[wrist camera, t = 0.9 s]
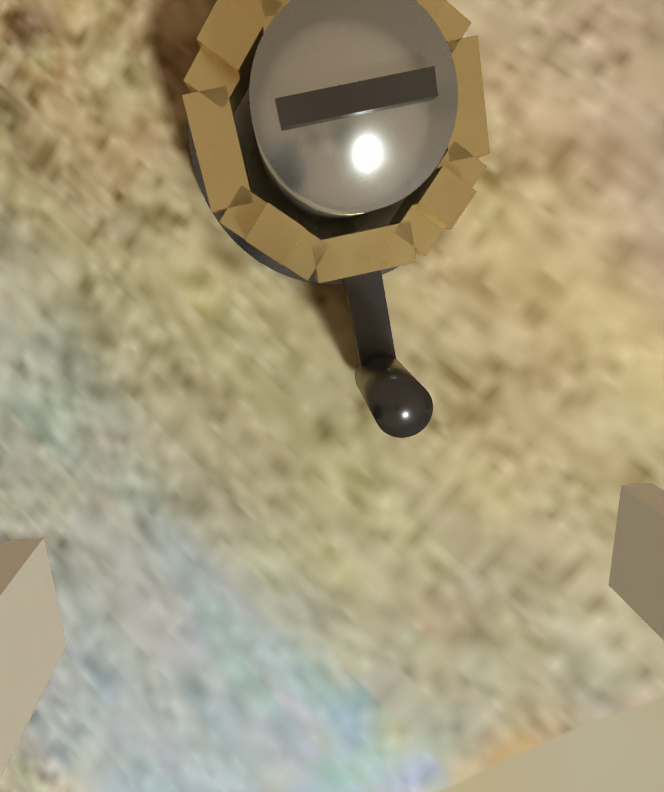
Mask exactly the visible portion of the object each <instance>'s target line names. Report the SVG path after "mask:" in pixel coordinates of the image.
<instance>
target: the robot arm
mask: <svg viewBox="0 0 664 792" xmlns="http://www.w3.org/2000/svg"><path fill="white" fill-rule="evenodd" d="M609 586H610V587H611V588H612V589H613V590H614V591H615V592H616V593H617V594H618V595H619V596H620V597H621V598H622V599H623V600H624V601H625V602H626V603H627V604H628V605H629V606H630V607H631V608H632V609H633V610H634V611H635V612H636V613H637V614H638V615H639V616H640V617H641V618H642V619H643V620H644V621H645V622H646V623H647V624H648V625H649V626H650V627H651V628H652V629H653V630H654V631H655V632H656V633H657V634H658V635H659V636H660V637H661V638H662V639H663V640H664V490H662V489H661V488H659V487H657V486H656V485H654V484H653V483H642V484H631V485H621V492H620V500H619V508H618V516H617V524H616V531H615V539H614V547H613V555H612V563H611V571H610V578H609ZM66 645H67V644H66V639H65V635H64V630H63V625H62V621H61V616H60V611H59V607H58V602H57V597H56V593H55V588H54V583H53V579H52V574H51V569H50V565H49V560H48V556H47V551H46V546H45V542H44V538H36V539H25V540H14V541H6V542H5V543H4V544H3V545H2V546H1V547H0V778H1V776H2V774H3V772H4V770H5V768H6V766H7V764H8V762H9V760H10V758H11V756H12V754H13V752H14V750H15V748H16V746H17V744H18V742H19V740H20V738H21V736H22V734H23V732H24V730H25V728H26V726H27V724H28V722H29V720H30V718H31V716H32V714H33V712H34V710H35V708H36V706H37V704H38V702H39V700H40V698H41V695H42V693H43V691H44V689H45V687H46V685H47V683H48V681H49V679H50V677H51V675H52V673H53V671H54V669H55V667H56V665H57V663H58V661H59V659H60V657H61V655H62V653H63V651H64V649H65V647H66Z"/></svg>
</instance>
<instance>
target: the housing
mask: <svg viewBox="0 0 664 792" xmlns="http://www.w3.org/2000/svg"><path fill="white" fill-rule="evenodd" d="M457 107H458V84H457V76H456V70H455V65H454V61H453V58H452V55H451V51H450V49H449V46H448V44H447V42H446V39H445V37H444V35H443V34H442V32H441V30H440V28H439V27H438V25H437V23H436V22H435V21H434V20H433V18H432V17H431V16H430V14H429V13H428V12H427V11H426V10H425V9H424V8H423V7H422V6H421V5H420V4H419V3H418V2H417V1H416V0H290V1H289V2H288V3H287V4H286V5H284V6H283V7H282V9H281V10H280V11H279V12H278V13H277V14H276V16H275V17H274V18H273V19H272V21H271V23H270V24H269V26H268V27H267V29H266V30H265V32H264V34H263V36H262V38H261V40H260V43H259V45H258V48H257V51H256V54H255V57H254V60H253V65H252V70H251V75H250V86H249V88H248V90H247V92H246V93H245V95H244V97H243V99H242V101H241V102H240V104H239V106H238V108H237V109H236V111H235V113H234V115H235V119H236V123H237V128H238V132H239V136H240V141H241V145H242V149H243V154H244V158H245V162H246V167H247V171H248V175H249V180H250V184H251V188H252V193H253V194H255V195H256V196H258V197H259V198H261V199H262V200H263V201H265V202H266V203H270V204H271V205H273V206H274V207H275V208H277V209H278V210H280V211H281V212H283V213H284V214H286V215H287V216H289V217H290V218H291V219H293V220H294V221H296V222H297V223H299V224H300V225H302V226H303V227H304V228H305V229H306V230H307V231H308V232H310V233H311V234H313V235H314V236H316V237H317V238H319V239H323V238H328V237H333V236H338V235H342V234H347V233H352V232H356V231H361V230H366V229H370V228H375V227H380V226H385V225H388V224H389V223H390V221H391V220H392V218H393V217H394V215H395V214H396V212H397V211H398V209H399V207H400V206H401V204H402V203H403V201H404V200H405V198H406V197H407V196H408V195H409V194H411V193H412V192H413V191H414V190H416V189H417V188H418V187H419V186H421V184H422V183H423V182H424V181H425V180H426V179H427V178H428V177H429V176H430V175H431V173H432V172H433V171H434V169H435V168H436V167H437V165H438V164H439V162H440V160H441V159H442V157H443V155H444V153H445V151H446V149H447V147H448V144H449V142H450V140H451V136H452V133H453V130H454V126H455V121H456V115H457ZM188 135H189V148H190V153H191V158H192V163H193V168H194V171H195V174H196V177H197V180H198V183H199V186H200V189H201V191H202V193H203V195H204V197H205V200H206V202H207V204H208V206H209V207H210V204H209V200H208V196H207V192H206V188H205V184H204V180H203V176H202V172H201V168H200V164H199V160H198V157H197V153H196V149H195V145H194V141H193V137H192V133H191V129H190V125H189V121H188ZM210 209H211V207H210ZM213 214H214V216H215V217H216V219H217V220H218V222H220V220H221V218H222V217H223V215H224V213H222V214H216V213H214V212H213ZM220 225H221V226H222V227H223V228H224V230H225V231H226V232H227V233H228V235H229V236H230V237H231V238H232V239H233V240H234V241H235V242H236V243H237V244H238V245H239V246H240V247H241V248H242V249H243V250H244V251H246V252H247V253H248V254H250V255H251V256H252V257H254V258H255V259H256V260H258V261H259V262H261V263H262V264H264V265H266V266H268V267H269V268H271V269H273V270H275V271H277V272H279V273H282V274H284V275H287V276H289V277H292V278H295V279H299V280H303V281H307V280H305V279H304V278H302V277H301V276H299V275H298V274H296V273H295V272H293V271H292V270H290V269H289V268H287V267H286V266H284V265H281V264H280V263H278V262H277V261H275V260H274V259H272V258H271V257H269V256H267V255H266V254H264V253H263V252H261V251H260V250H258V249H257V248H255V247H254V246H252V245H251V244H249V243H248V242H246V241H245V239H244V238H242V237H240V236H239V235H237V234H236V233H234V232H233V231H231V230H230V229H228V228H227V227H225V226H224V225H222V224H221V223H220ZM415 255H416V254H415ZM397 267H398V266H397ZM397 267H392V268H388V269H383V270H381V274H384V273H387V272H389V271H391V270H393V269H395V268H397ZM307 282H313V283H319V282H318V281H317V280H316V279H315V275H314V272H313V273H312V275H311V277H310V278H309V280H308V281H307ZM321 284H344V282H343V278H341V279H337V280H332V281H327V282H323V283H321Z"/></svg>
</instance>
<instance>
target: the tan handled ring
mask: <svg viewBox="0 0 664 792" xmlns="http://www.w3.org/2000/svg"><path fill="white" fill-rule="evenodd" d="M289 1H290V0H217V1H216V3H215V5H214V7H213V9H212V11H211V13H210V14H209V16H208V18H207V20H206V22H205V24H204V26H203V27H202V29H201V31H200V33H199V35H198V37H197V42H198V44H199V46H200V50H199V52H198V54H197V56H196V58H195V60H194V62H193V63H192V65H191V67H190V69H189V71H188V73H187V75H186V76H185V78H184V80H183V81H184V82H185V84H186V86H187V87H188V89H189V91H190V92H191V93H189V94H184V95H182V98H183V102H184V106H185V110H186V113H187V117H188V121H189V125H190V129H191V133H192V137H193V141H194V145H195V149H196V153H197V157H198V160H199V164H200V168H201V172H202V176H203V180H204V184H205V188H206V192H207V196H208V200H209V204H210V207H211V211H212V212H214V213H216V214H222V213H224V215H223V217H222V218H221V220H220V222H219V223H221V224H222V225H224V226H225V227H227V228H228V229H230V230H231V231H233V232H234V233H236V234H237V235H239V236H240V237H242V238H244V239H245V241H246V242H248V243H249V244H251V245H252V246H254V247H255V248H257V249H258V250H260V251H261V252H263V253H264V254H266V255H267V256H269V257H271V258H272V259H274V260H275V261H277V262H278V263H280V264H281V265H284V266H286V267H287V268H289V269H290V270H292V271H293V272H295V273H296V274H298V275H299V276H301V277H302V278H304V279H305V280H307V281H308V280H309V278H310V277H311V275H312V273H313V272H314V275H315V279H316V280H317V281H318V282H319V283H323V282H327V281H332V280H337V279H341V278H343V282H344V287H345V293H346V298H347V303H348V308H349V313H350V319H351V324H352V329H353V334H354V339H355V345H356V350H357V355H358V360H359V364H358V366H357V368H356V372H355V381H356V384H357V386H358V388H359V390H360V392H361V394H362V396H363V398H364V399H365V401H366V403H367V405H368V407H369V409H370V411H371V413H372V415H373V416H374V418H375V420H376V422H377V424H378V426H379V427H380V428H381V429H382V430H383V431H384V432H385V433H387V434H389V435H391V436H393V437H399V438H404V437H410V436H413V435H415V434H417V433H419V432H420V431H421V430H423V429H424V428H425V427H426V425H427V424H428V422H429V421H430V419H431V416H432V412H433V403H432V399H431V396H430V394H429V393H428V391H427V390H426V389H425V388H424V387H423V386H422V385H421V384H420V383H419V382H418V381H417V380H416V379H415V378H414V377H413V376H412V375H411V374H410V373H409V372H408V371H407V370H406V368H405V367H404V366H403V365H402V364H401V363H400V362H399V361H398V360H397V359H396V356H395V350H394V345H393V339H392V333H391V327H390V321H389V315H388V309H387V303H386V298H385V292H384V286H383V280H382V274H381V270H383V269H388V268H392V267H397V266H402V265H406V264H411V263H415V262H416V255H415V254H418V255H427V254H428V252H429V251H430V249H431V248H432V246H433V245H434V243H435V242H436V240H437V239H438V237H439V236H440V234H441V233H442V232H443V230H444V229H452V227H453V226H454V224H455V223H456V222H457V220H458V219H459V217H460V216H461V214H462V213H463V211H464V210H465V208H466V207H467V205H468V204H469V202H470V201H471V199H472V198H473V196H474V195H475V193H476V192H477V191H475V190H474V189H473V188H472V187H473V186H474V184H475V183H476V181H477V180H478V178H479V177H480V175H481V174H482V172H483V171H484V169H485V168H486V165H484V164H483V163H482V162H481V161H479V160H478V159H477V158H479V157H482V156H484V155H487V154H489V153H490V150H489V140H488V131H487V121H486V111H485V102H484V92H483V82H482V73H481V63H480V53H479V44H478V35H476V36H471V37H466V38H462V37H463V35H464V33H465V32H466V30H467V29H468V27H469V26H470V24H471V22H470V21H469V20H468V19H467V18H466V17H464V16H463V15H462V14H461V13H460V12H459V11H458V10H456V9H455V8H454V7H453V6H452V5H451V4H449V3H448V2H447V1H446V0H416V1H417V2H418V3H419V4H420V5H421V6H422V7H423V8H424V9H425V10H426V11H427V12H428V13H429V14H430V16H431V17H432V18H433V20H434V21H435V22H436V23H437V25H438V27H439V28H440V30H441V32H442V34H443V35H444V37H445V39H446V42H447V44H448V46H449V49H450V51H451V55H452V58H453V61H454V65H455V70H456V76H457V84H458V107H457V115H456V121H455V126H454V130H453V133H452V136H451V140H450V142H449V144H448V147H447V149H446V151H445V153H444V155H443V157H442V159H441V160H440V162H439V164H438V165H437V167H436V168H435V169H434V171H433V172H432V173H431V175H430V176H429V177H428V178H427V179H426V180H425V181H424V182H423V183H422V184H421V186H419V187H418V188H417V189H416V190H414V191H413V192H412V193H411V194H409V195H408V196H407V197H406V198H405V200H404V201H403V203H402V204H401V206H400V207H399V209H398V211H397V212H396V214H395V215H394V217H393V218H392V220H391V221H390V223H389V224H388V225H385V226H380V227H375V228H370V229H366V230H361V231H356V232H352V233H347V234H342V235H338V236H333V237H328V238H323V239H319V238H317V237H316V236H314V235H313V234H311V233H310V232H308V231H307V230H306V229H305V228H304V227H303V226H302V225H300V224H299V223H297V222H296V221H294V220H293V219H291V218H290V217H289V216H287V215H286V214H284V213H283V212H281V211H280V210H278V209H277V208H275V207H274V206H273V205H271V204H270V203H266V202H265V201H263V200H262V199H261V198H259V197H258V196H256V195H255V194H253V193H252V188H251V184H250V180H249V175H248V171H247V167H246V162H245V158H244V154H243V149H242V145H241V141H240V136H239V132H238V128H237V123H236V119H235V115H234V113H235V111H236V109H237V108H238V106H239V104H240V102H241V101H242V99H243V97H244V95H245V93H246V92H247V90H248V88H249V86H250V75H251V70H252V65H253V60H254V57H255V54H256V51H257V48H258V45H259V43H260V40H261V38H262V36H263V34H264V32H265V30H266V29H267V27H268V26H269V24H270V23H271V21H272V19H273V18H274V17H275V16H276V14H277V13H278V12H279V11H280V10H281V9H282V7H283V6H284V5H286V4H287V3H288V2H289Z"/></svg>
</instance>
